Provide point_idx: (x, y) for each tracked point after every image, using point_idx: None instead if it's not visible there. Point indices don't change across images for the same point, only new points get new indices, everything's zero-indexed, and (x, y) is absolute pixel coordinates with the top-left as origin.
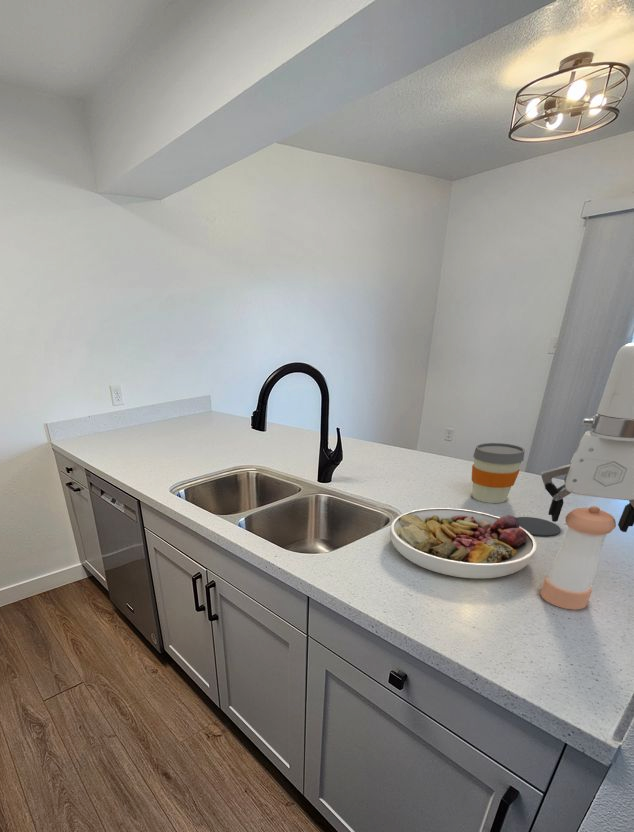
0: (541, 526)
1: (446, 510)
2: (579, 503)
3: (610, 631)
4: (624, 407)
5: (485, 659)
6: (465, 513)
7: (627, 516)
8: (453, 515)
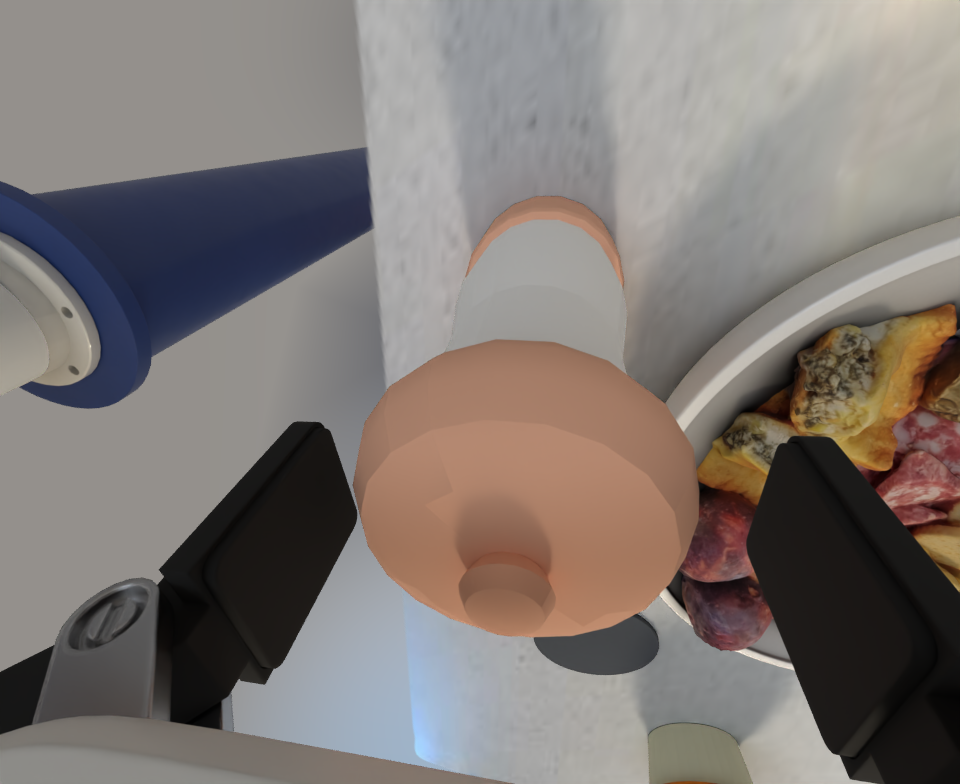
0: (577, 641)
1: None
2: (490, 729)
3: (405, 104)
4: None
5: None
6: None
7: (247, 520)
8: None
